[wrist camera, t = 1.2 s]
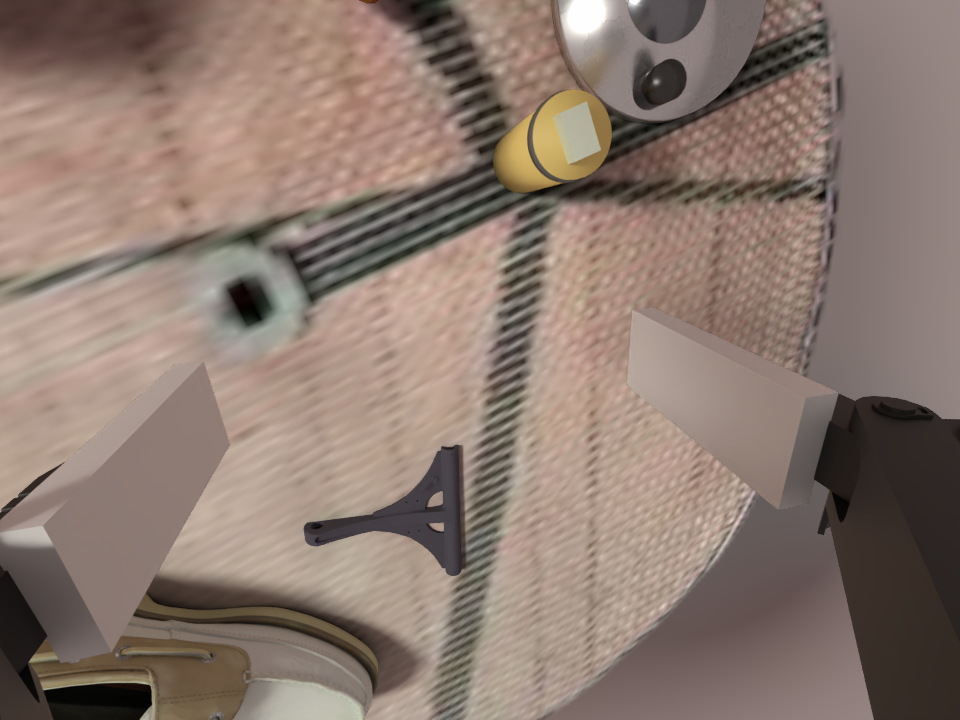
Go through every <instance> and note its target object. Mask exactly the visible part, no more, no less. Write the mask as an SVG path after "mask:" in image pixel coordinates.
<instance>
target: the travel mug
mask: <svg viewBox="0 0 960 720" xmlns="http://www.w3.org/2000/svg"><path fill="white" fill-rule="evenodd" d="M611 137H612V130H611V123H610V119H609V116H608V113H607V111H606V109H605V108H604V106H603V104H602V103H601V102H600V101H599V100H598V99H597V98H596V97H595V96H593V95H592V94H590V93H588V92H585V91H582V90H576V89H575V90H564V91H560V92H558V93H556V94H554V95H552V96H551V97H549V98H548V99H547V100H545V101H544V102H543V103H542V104H541V105H540V106H539V107H538V108H537V110H536V111H534V112H533V113H532V114H531V115H529V116H528V117H527V118H526V119H524V120H523V121H522V122H520V123H519V124H518V125H517V126H515V127H514V128H513V129H512V130H510V131H509V132H508V133H507V134H505V135H504V136H503V137H502V138H501V139H500V141H499V142H498V144H497V146H496V148H495V151H494V155H493V167H494V171H495V174H496V176H497V178H498V180H499V181H500V183H501V184H502V185H503V186H504V187H505V188H507V189H508V190H510V191H513V192H516V193H527V192H531V191H535V190H539V189H542V188H546V187H550V186H554V185H557V184H561V183H570V182H575V181H579V180H582V179H584V178H586V177H588V176H590V175H591V174H592V173H594V172H595V171H596V170H597V169H598V168H599V166H600V165H601V164H602V163H603V161H604V160H605V158H606V156H607V154H608V151H609V148H610V144H611Z"/></svg>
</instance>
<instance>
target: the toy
mask: <svg viewBox="0 0 960 720" xmlns="http://www.w3.org/2000/svg"><path fill="white" fill-rule="evenodd" d="M360 1H362V2H365V3H367V4H368V3H376V2H377V1H378V0H360Z"/></svg>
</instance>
